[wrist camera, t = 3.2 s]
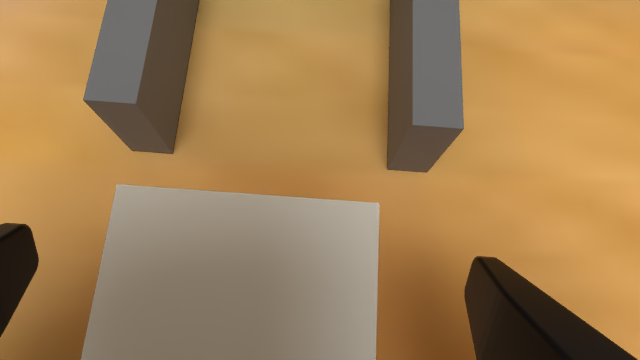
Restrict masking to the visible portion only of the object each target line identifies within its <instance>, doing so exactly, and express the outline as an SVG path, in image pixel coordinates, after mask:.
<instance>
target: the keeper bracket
mask: <svg viewBox="0 0 640 360" xmlns="http://www.w3.org/2000/svg"><path fill="white" fill-rule="evenodd" d="M198 4H199V0H108V1H107V5H106V9H105V13H104V17H103V21H102V25H101V29H100V33H99V37H98V41H97V45H96V49H95V54H94V58H93V62H92V66H91V70H90V74H89V78H88V82H87V86H86V90H85V94H84V98H83V100H84V101H85V102H86V103H87V104H88V105H89V106H90V108H91V109H92V110H93V111H94V112H95V113H96V114H97V115H98V116H99V117H100V118H101V119H102V120H103V121H104V122H105V123H106V124H107V125H108V126H109V127H110V128H111V129H112V130H113V131H114V132H115V134H116V135H117V136H118V137H119V138H120V139H121V140H122V141H123V142H124V143H125V144H126V145H127V146H128V147H129V148H130V149H131V150H132V151H144V152H158V153H171V154H173V149H174V143H175V137H176V132H177V126H178V120H179V114H180V108H181V102H182V97H183V91H184V85H185V79H186V73H187V68H188V62H189V56H190V50H191V44H192V38H193V33H194V27H195V21H196V15H197V9H198ZM463 129H464V123H463V96H462V69H461V42H460V15H459V0H390V46H389V101H388V156H387V169H389V170H402V171H416V172H428V170H429V169H430V168H431V167H432V166H433V165H434V163H435V162H436V161H437V160H438V159H439V157H440V156H441V155H442V154H443V153H444V152H445V150H446V149H447V148H448V147H449V146H450V144H451V143H452V142H453V141H454V140H455V138H456V137H457V136H458V135H459V134H460V133H461V131H462V130H463Z"/></svg>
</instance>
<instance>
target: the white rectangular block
mask: <svg viewBox="0 0 640 360" xmlns="http://www.w3.org/2000/svg"><path fill="white" fill-rule="evenodd" d="M379 204H380V203H372V202H359V201H345V200H331V199H317V198H303V197H289V196H275V195H261V194H247V193H233V192H219V191H205V190H192V189H178V188H164V187H150V186H136V185H122V184H117V186H116V191H115V196H114V201H113V205H112V210H111V215H110V220H109V225H108V230H107V234H106V239H105V244H104V249H103V254H102V259H101V263H100V268H99V273H98V278H97V283H96V288H95V292H94V297H93V302H92V307H91V312H90V317H89V321H88V326H87V331H86V336H85V341H84V346H83V350H82V355H81V360H376V333H377V290H378V247H379Z"/></svg>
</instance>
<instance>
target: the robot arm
mask: <svg viewBox="0 0 640 360" xmlns="http://www.w3.org/2000/svg"><path fill="white" fill-rule="evenodd" d="M38 262H39V258H38V253H37V250H36V246H35V242H34V238H33V234H32V231H31V229H30V227H29V226H27V225H26V224H15V223H4V224H1V225H0V337H1V335H2V333H3V332H4V330H5V328H6V326H7V325H8V323H9V321H10V319H11V317H12V315H13V313H14V312H15V310H16V308H17V306H18V304H19V302H20V300H21V298H22V297H23V295H24V293H25V291H26V289H27V287H28V285H29V283H30V281H31V280H32V278H33V276H34V274H35V272H36V270H37V267H38ZM464 295H465V302H466V308H467V313H468V318H469V323H470V328H471V333H472V338H473V343H474V349H475V354H476V358H477V360H638V359H636V358H635V357H633V356H632V355H631V354H629V353H628V352H626V351H625V350H624V349H622V348H621V347H619V346H618V345H617V344H615V343H614V342H613V341H611V340H610V339H608V338H607V337H606V336H604V335H603V334H601V333H600V332H599V331H597V330H596V329H594V328H593V327H592V326H590V325H589V324H588V323H586V322H585V321H583V320H582V319H581V318H579V317H578V316H576V315H575V314H574V313H572V312H571V311H569V310H568V309H567V308H565V307H564V306H563V305H561V304H560V303H558V302H557V301H556V300H554V299H553V298H551V297H550V296H549V295H547V294H546V293H544V292H543V291H542V290H540V289H539V288H538V287H536V286H535V285H533V284H532V283H531V282H529V281H528V280H526V279H525V278H524V277H522V276H521V275H519V274H518V273H517V272H515V271H514V270H513V269H511V268H510V267H508V266H507V265H506V264H504V263H503V262H501V261H500V260H499V259H497V258H495V257H482V256H477V257H476V258H474V260H473V262H472V265H471V268H470V272H469V275H468V279H467V282H466V286H465V294H464Z"/></svg>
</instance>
